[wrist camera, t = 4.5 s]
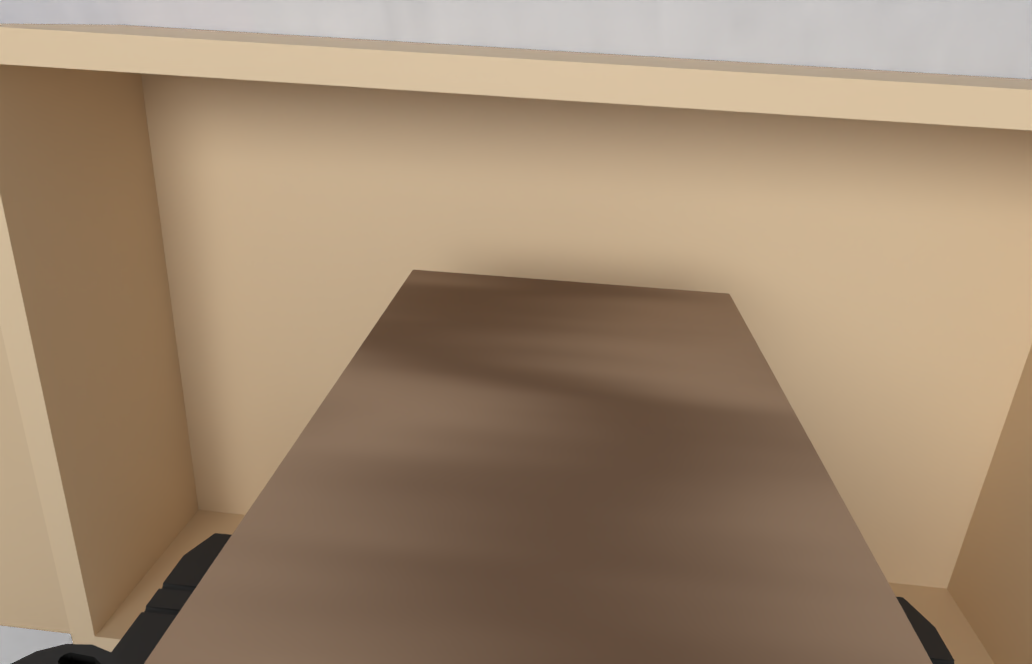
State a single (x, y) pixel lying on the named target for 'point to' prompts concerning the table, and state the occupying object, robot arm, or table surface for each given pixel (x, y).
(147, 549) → the carton
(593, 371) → the block
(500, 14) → the table surface
